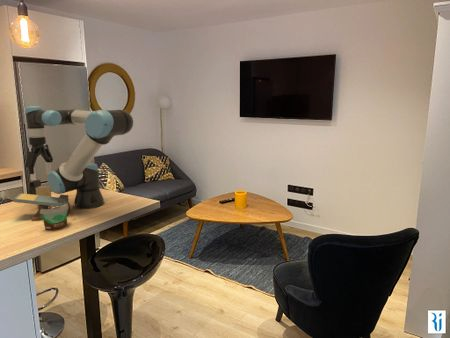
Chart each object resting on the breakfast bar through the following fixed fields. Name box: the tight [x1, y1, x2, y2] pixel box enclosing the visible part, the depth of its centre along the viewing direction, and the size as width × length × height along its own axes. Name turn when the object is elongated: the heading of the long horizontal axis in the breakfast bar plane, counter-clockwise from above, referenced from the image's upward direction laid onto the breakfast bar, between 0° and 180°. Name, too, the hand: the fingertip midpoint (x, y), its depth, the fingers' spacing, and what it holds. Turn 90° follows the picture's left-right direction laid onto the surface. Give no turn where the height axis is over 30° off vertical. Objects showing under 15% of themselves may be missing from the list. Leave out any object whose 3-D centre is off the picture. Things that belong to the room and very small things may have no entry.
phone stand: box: [27, 179, 42, 195], centre depth 188 cm, size 9×6×12 cm, turn 88°
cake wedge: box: [40, 202, 69, 231], centre depth 149 cm, size 12×6×10 cm, turn 148°
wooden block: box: [36, 185, 52, 208], centre depth 179 cm, size 5×5×11 cm
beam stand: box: [31, 202, 71, 222], centre depth 166 cm, size 15×13×6 cm
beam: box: [13, 193, 70, 207], centre depth 164 cm, size 22×10×4 cm, turn 107°
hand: (41, 177), depth 176 cm, fingers open, 13 cm apart
